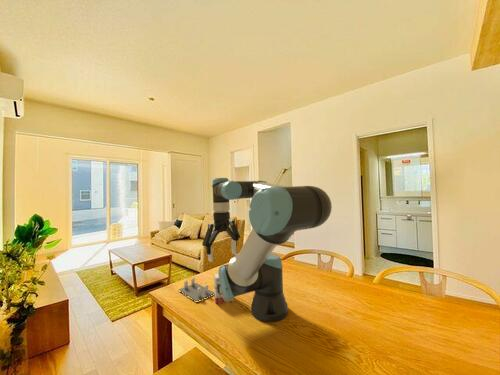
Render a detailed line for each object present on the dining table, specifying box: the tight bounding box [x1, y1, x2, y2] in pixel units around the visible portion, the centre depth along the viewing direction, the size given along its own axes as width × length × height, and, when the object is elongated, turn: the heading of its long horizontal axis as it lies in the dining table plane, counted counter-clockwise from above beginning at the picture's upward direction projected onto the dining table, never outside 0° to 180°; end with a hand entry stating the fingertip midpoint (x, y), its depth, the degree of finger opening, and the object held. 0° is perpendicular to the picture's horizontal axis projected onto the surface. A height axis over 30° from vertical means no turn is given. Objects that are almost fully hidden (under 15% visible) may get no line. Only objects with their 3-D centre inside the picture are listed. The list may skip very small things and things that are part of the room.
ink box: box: [213, 272, 235, 304], centre depth 99 cm, size 9×5×12 cm, turn 105°
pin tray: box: [178, 277, 214, 301], centre depth 106 cm, size 17×10×5 cm, turn 45°
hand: (222, 257), depth 99 cm, fingers open, 13 cm apart
